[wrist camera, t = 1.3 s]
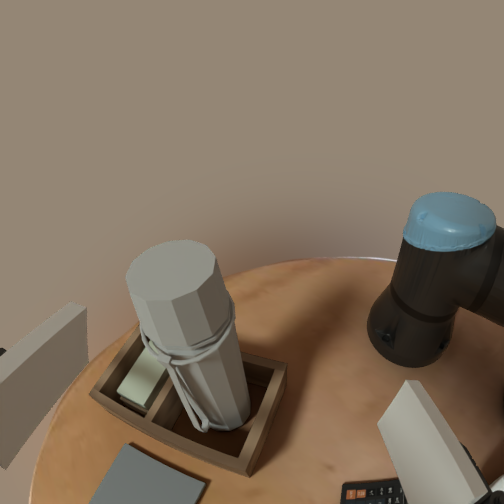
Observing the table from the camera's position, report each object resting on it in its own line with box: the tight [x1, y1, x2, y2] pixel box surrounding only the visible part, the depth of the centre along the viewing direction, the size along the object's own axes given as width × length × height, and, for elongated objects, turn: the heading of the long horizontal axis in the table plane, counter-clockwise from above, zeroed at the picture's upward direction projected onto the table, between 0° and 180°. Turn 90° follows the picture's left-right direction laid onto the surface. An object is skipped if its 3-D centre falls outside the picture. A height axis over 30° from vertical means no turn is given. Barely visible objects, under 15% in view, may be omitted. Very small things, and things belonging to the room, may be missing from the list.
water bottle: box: [125, 240, 251, 433], centre depth 26 cm, size 9×8×25 cm
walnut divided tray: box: [89, 324, 287, 478], centre depth 33 cm, size 14×22×6 cm, turn 70°
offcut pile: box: [117, 340, 170, 417], centre depth 35 cm, size 10×5×5 cm, turn 161°
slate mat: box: [89, 443, 206, 504], centre depth 22 cm, size 12×12×1 cm
